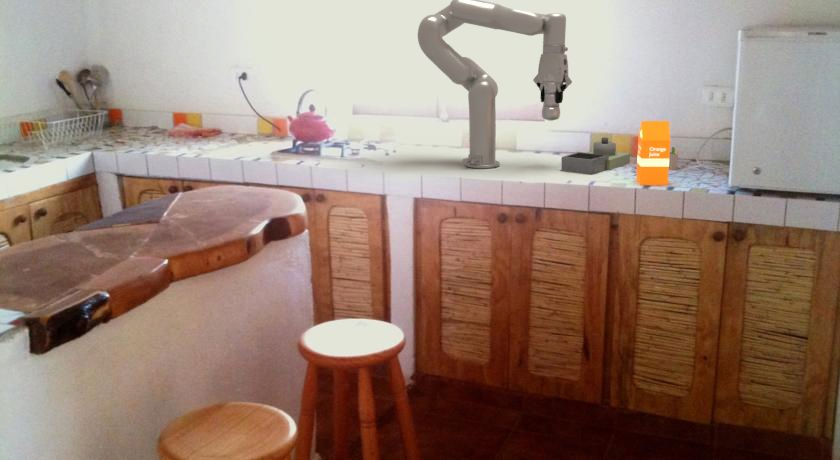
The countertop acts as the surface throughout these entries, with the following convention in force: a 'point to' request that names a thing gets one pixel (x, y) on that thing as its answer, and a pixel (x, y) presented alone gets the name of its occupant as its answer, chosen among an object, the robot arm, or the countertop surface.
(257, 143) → the countertop surface
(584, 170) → the dark grey tray
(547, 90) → the plastic bottle
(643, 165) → the orange juice
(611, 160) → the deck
